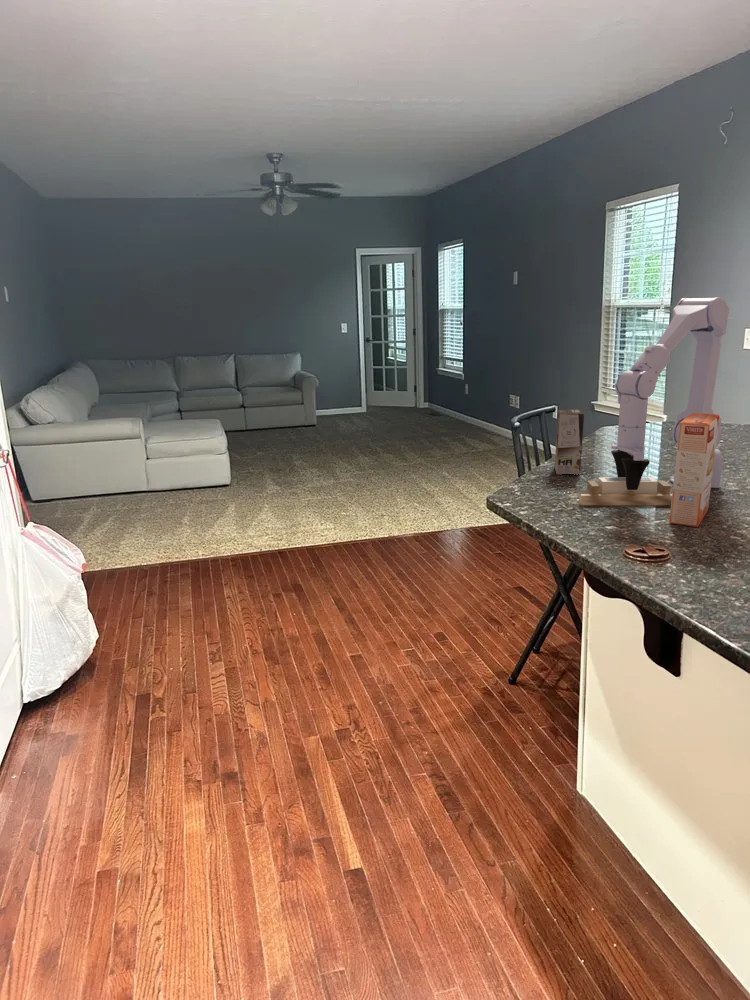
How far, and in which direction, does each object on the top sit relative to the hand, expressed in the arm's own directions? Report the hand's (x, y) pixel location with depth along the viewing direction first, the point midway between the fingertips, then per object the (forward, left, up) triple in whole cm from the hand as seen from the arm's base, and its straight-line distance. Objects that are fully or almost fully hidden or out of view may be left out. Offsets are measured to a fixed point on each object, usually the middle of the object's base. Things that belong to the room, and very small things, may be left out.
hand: (627, 485), depth 159 cm
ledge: (0, +1, -3) cm, 4 cm away
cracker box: (-9, +14, -4) cm, 17 cm away
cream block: (0, 0, -4) cm, 4 cm away
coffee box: (+8, -29, -4) cm, 30 cm away
